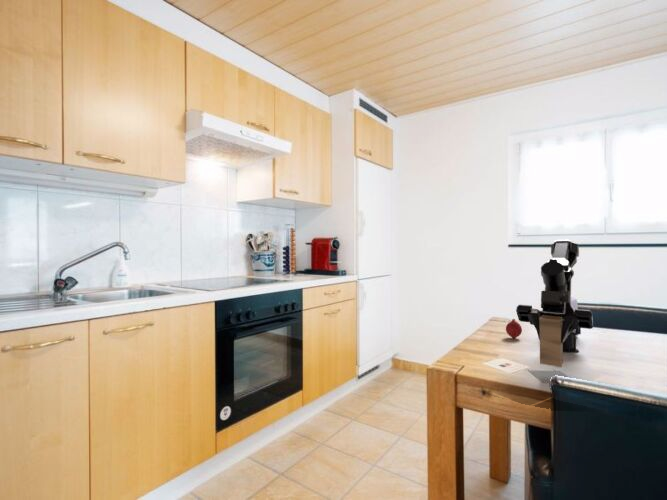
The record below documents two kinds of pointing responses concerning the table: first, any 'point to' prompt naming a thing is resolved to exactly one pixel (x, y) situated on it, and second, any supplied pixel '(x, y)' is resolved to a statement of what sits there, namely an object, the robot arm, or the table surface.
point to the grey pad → (546, 375)
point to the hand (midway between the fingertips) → (550, 340)
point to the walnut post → (551, 340)
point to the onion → (513, 329)
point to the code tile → (505, 365)
